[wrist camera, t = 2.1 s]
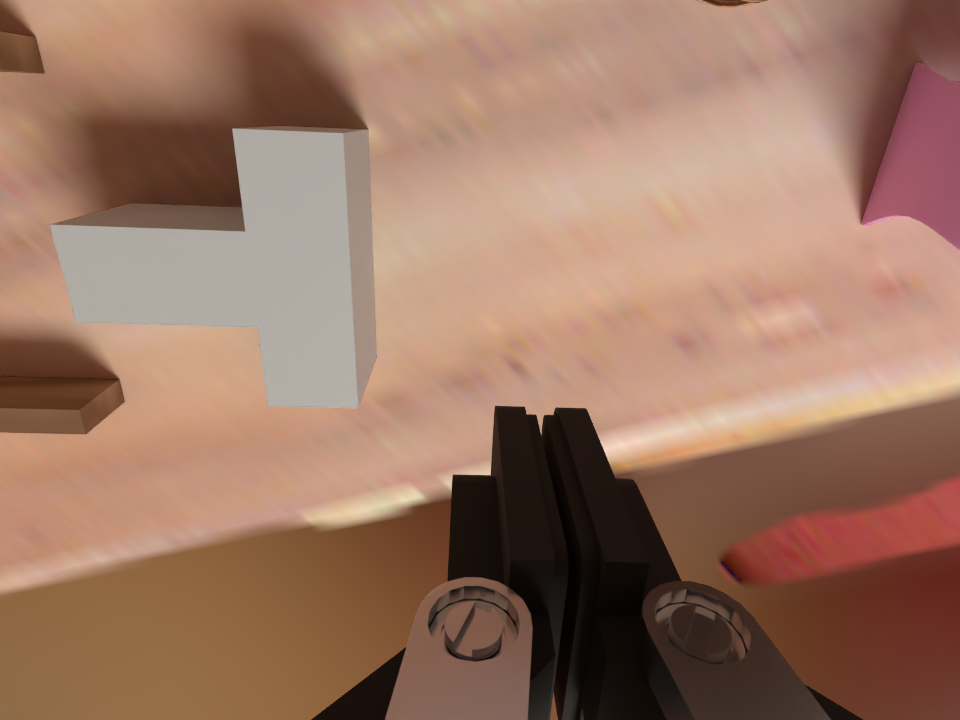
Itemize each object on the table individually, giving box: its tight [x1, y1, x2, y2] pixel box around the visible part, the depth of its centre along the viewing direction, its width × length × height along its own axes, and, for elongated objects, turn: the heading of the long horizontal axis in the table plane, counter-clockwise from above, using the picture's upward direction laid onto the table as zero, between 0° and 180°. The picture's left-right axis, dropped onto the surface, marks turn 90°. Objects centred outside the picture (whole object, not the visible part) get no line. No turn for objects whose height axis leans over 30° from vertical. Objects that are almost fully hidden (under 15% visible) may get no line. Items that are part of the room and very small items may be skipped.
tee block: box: [50, 126, 377, 408], centre depth 22 cm, size 10×10×5 cm
